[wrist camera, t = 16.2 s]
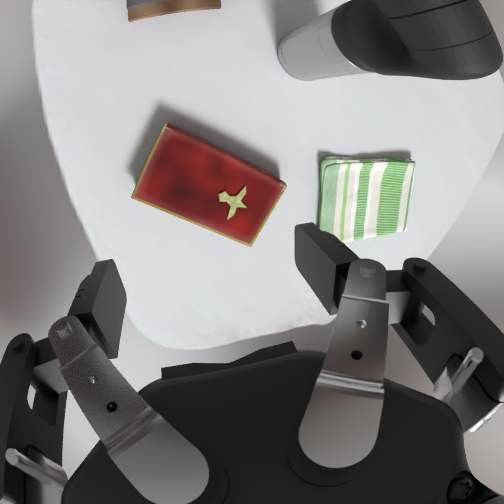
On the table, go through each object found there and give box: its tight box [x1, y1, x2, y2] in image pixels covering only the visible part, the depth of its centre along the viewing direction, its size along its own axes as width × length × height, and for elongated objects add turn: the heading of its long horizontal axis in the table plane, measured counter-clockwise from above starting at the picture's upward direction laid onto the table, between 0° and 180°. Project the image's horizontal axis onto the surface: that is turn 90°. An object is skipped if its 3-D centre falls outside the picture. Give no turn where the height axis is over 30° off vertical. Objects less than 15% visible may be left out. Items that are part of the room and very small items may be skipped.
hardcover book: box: [131, 123, 287, 247], centre depth 42 cm, size 12×21×4 cm, turn 59°
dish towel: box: [317, 157, 415, 243], centre depth 51 cm, size 18×23×3 cm
